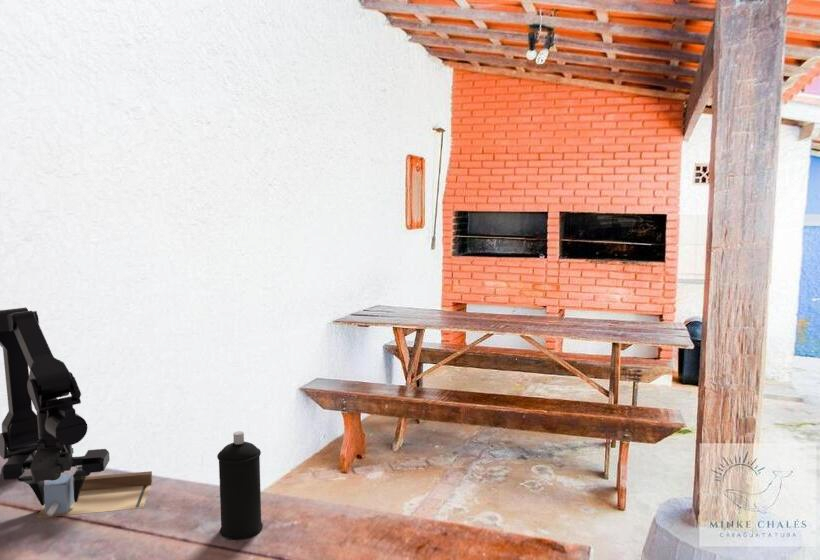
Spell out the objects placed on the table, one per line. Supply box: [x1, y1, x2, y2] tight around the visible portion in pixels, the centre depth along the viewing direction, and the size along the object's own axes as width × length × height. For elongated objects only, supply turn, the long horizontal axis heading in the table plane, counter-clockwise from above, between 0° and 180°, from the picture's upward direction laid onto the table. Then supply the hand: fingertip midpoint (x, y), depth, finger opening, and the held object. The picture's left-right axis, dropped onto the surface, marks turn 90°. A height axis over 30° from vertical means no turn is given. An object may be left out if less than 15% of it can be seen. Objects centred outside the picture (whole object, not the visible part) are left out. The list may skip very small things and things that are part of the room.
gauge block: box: [44, 473, 74, 516], centre depth 131 cm, size 8×4×6 cm, turn 13°
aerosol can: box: [216, 430, 264, 541], centre depth 127 cm, size 8×8×20 cm
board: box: [35, 470, 153, 519], centre depth 137 cm, size 12×20×4 cm, turn 103°
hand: (60, 503), depth 133 cm, fingers open, 6 cm apart
